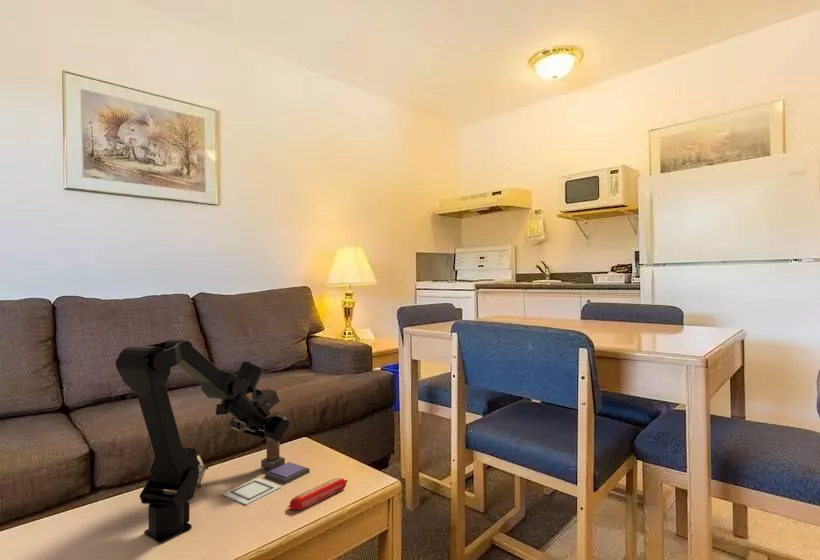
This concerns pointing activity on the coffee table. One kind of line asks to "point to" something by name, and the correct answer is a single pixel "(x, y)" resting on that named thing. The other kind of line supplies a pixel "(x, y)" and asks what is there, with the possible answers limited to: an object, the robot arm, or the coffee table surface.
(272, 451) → the wooden handle on base
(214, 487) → the coffee table surface
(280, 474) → the ink pad
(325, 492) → the candy bar
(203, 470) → the game die
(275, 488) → the print card
